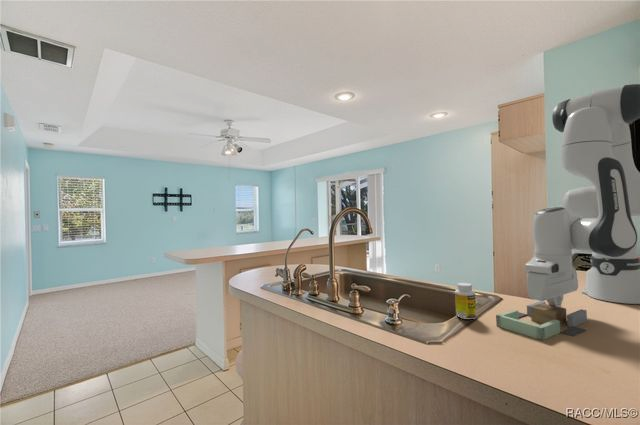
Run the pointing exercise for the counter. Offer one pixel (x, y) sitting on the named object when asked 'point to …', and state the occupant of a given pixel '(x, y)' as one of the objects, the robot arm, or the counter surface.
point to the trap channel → (540, 331)
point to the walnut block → (548, 313)
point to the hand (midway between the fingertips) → (555, 310)
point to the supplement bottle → (465, 301)
